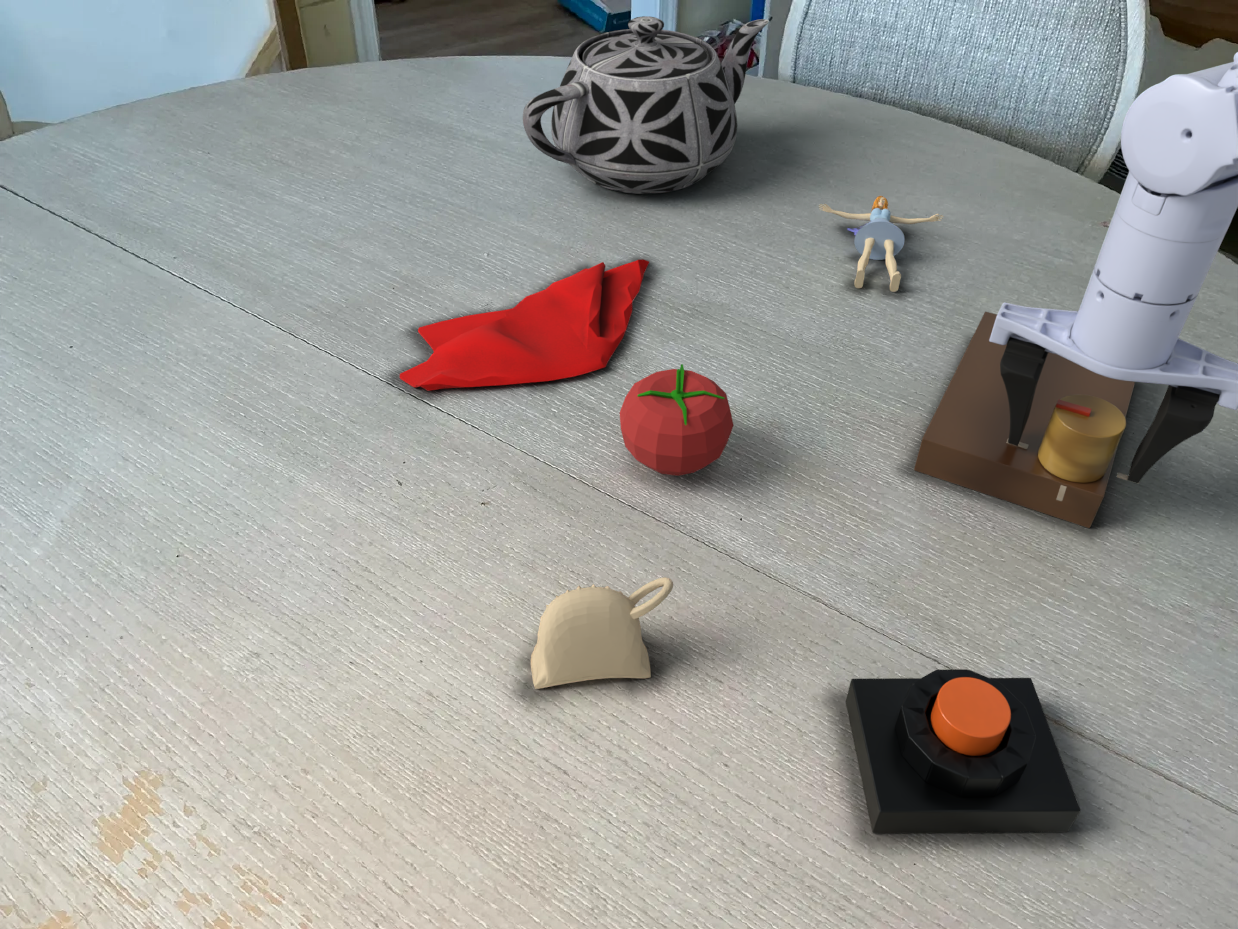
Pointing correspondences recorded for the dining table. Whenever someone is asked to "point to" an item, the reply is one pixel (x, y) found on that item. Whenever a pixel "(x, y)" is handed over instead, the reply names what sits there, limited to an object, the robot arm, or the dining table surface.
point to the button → (970, 716)
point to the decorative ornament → (594, 635)
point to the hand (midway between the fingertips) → (1074, 454)
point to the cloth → (534, 334)
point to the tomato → (676, 421)
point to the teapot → (644, 107)
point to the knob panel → (980, 424)
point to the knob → (1081, 438)
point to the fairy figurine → (879, 238)
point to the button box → (956, 762)
